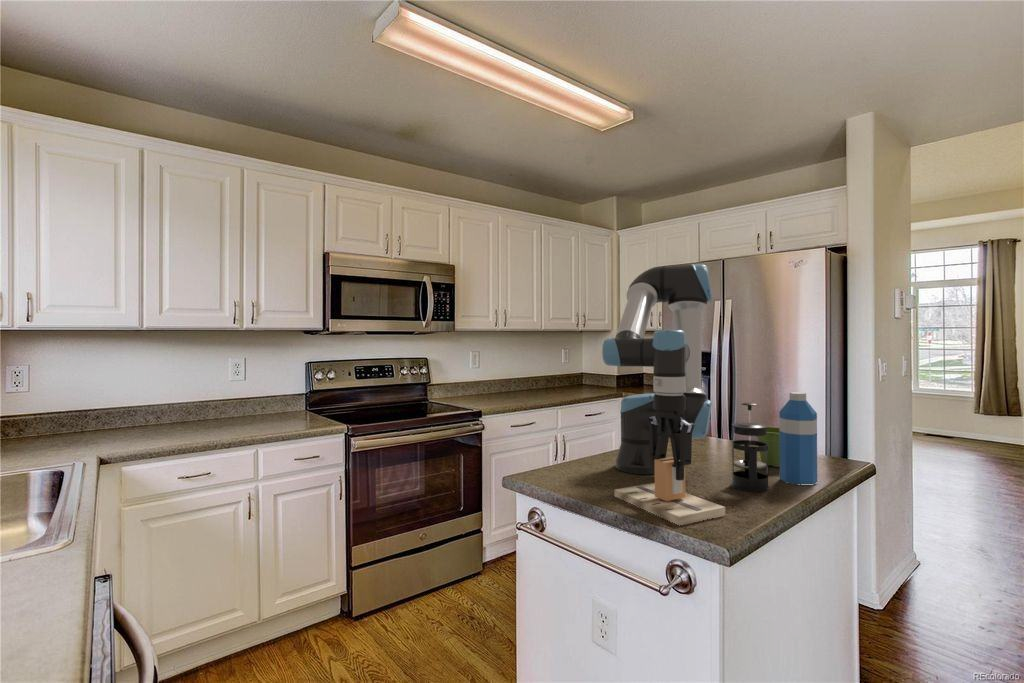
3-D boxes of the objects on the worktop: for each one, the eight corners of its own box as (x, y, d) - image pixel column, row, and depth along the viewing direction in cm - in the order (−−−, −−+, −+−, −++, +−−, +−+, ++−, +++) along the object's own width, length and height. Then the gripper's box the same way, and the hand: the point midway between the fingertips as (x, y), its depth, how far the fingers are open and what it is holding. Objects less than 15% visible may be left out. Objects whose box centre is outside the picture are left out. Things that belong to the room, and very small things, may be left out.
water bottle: (772, 478, 150) (771, 392, 150) (796, 475, 153) (795, 390, 153) (800, 487, 141) (799, 395, 141) (825, 483, 145) (824, 393, 144)
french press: (729, 480, 149) (729, 400, 149) (765, 483, 146) (765, 401, 146) (733, 492, 138) (733, 405, 137) (773, 495, 135) (772, 406, 135)
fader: (654, 496, 126) (654, 458, 126) (673, 493, 129) (673, 456, 129) (666, 501, 123) (666, 462, 123) (685, 497, 125) (685, 459, 125)
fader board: (614, 497, 134) (614, 489, 134) (656, 489, 140) (656, 482, 140) (679, 525, 113) (679, 516, 113) (725, 515, 120) (725, 506, 120)
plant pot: (780, 471, 158) (779, 434, 158) (745, 463, 169) (745, 428, 169) (803, 466, 164) (803, 430, 164) (769, 458, 175) (768, 425, 174)
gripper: (633, 391, 132) (634, 483, 132) (684, 398, 116) (684, 502, 116) (656, 389, 135) (657, 480, 135) (708, 396, 120) (709, 497, 120)
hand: (669, 490), depth 126 cm, fingers closed on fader, 4 cm apart
